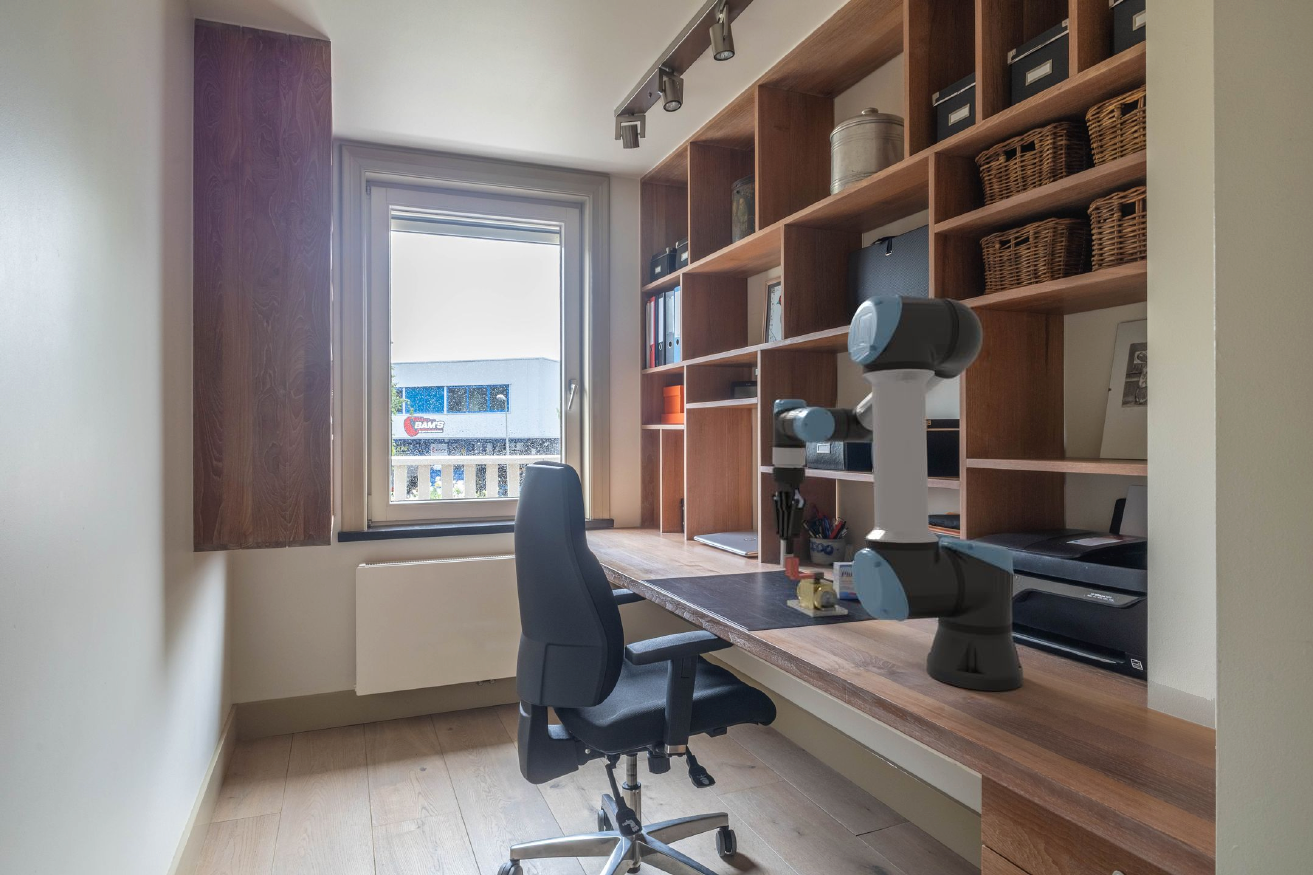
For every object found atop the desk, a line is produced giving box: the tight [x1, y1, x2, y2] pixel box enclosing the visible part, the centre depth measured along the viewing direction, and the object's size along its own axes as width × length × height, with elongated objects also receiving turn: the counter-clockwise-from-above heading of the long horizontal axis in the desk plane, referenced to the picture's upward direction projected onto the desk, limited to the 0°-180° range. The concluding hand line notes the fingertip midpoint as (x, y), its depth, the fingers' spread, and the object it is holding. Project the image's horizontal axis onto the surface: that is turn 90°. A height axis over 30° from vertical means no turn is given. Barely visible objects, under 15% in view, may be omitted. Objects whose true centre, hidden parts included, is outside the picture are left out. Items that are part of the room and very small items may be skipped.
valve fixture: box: [786, 579, 849, 618], centre depth 171 cm, size 12×9×7 cm
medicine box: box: [833, 561, 859, 600], centre depth 184 cm, size 8×4×9 cm, turn 95°
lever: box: [784, 556, 825, 581], centre depth 170 cm, size 3×10×5 cm, turn 114°
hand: (786, 567), depth 170 cm, fingers closed
